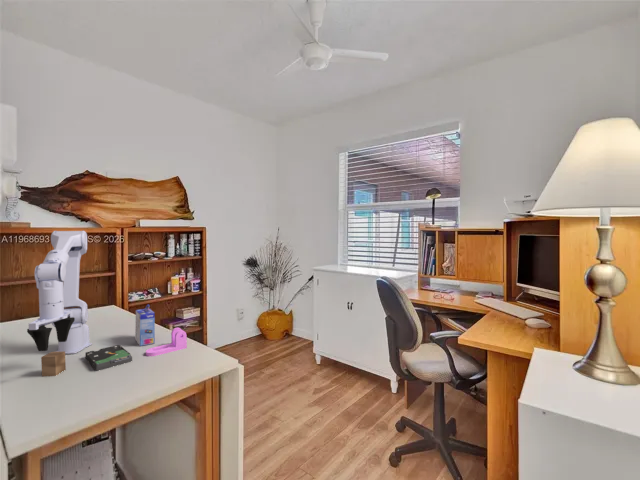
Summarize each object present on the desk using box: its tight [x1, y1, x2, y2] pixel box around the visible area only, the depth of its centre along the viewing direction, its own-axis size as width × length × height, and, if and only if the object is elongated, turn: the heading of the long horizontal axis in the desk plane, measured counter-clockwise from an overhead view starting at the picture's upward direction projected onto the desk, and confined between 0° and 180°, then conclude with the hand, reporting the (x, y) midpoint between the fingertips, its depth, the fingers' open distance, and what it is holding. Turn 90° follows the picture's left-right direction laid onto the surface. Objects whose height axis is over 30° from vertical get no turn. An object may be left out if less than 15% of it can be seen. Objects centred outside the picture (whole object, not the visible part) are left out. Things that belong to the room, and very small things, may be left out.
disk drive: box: [85, 344, 133, 372], centre depth 106 cm, size 10×3×15 cm
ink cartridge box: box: [134, 303, 156, 347], centre depth 123 cm, size 10×6×14 cm, turn 40°
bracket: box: [145, 327, 188, 357], centre depth 114 cm, size 13×6×7 cm, turn 132°
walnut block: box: [40, 351, 67, 377], centre depth 97 cm, size 4×4×6 cm
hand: (53, 346), depth 96 cm, fingers open, 7 cm apart
